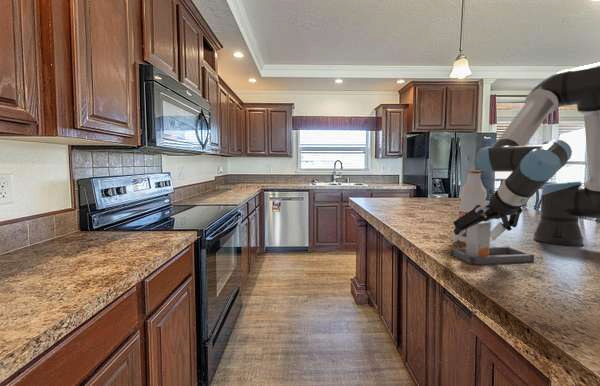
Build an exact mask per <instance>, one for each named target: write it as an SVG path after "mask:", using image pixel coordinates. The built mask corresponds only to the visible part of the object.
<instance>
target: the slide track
mask: <svg viewBox="0 0 600 386" xmlns="http://www.w3.org/2000/svg"><path fill="white" fill-rule="evenodd" d="M499 254H500V255H499ZM450 255H451V256H453V257H454V258H457V259H459V260H461V261H464V262H466V263H468V264H470V265H472V266H473V265H486V264H487V265H489V264H490V265H491V264H511V263H528V262H530V261H531V262H535V254H532V253H529V252H526V251H523V250H520V249H517V248H514V247H511V246H508V245H506V246H505V245H504V246H503V245H502V246H500V245H493V246H489V256H476V257H472V256H469V255H467V254H466V246H465V247H464V246H463V247H461V248H460V247H459V248H450ZM531 262H530V263H531Z"/></svg>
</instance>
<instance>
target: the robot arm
mask: <svg viewBox="0 0 600 386" xmlns="http://www.w3.org/2000/svg"><path fill="white" fill-rule="evenodd" d="M574 105H576V109H577V112H579V113H581V114H582V115H583V118H584V119H583V120H584V131H585V143H586V153H587V155H586V156H587V157H586V158H587V166H588V178H589V179H587V180H586V181H585V182H584V184H583V183H582V182H581V181H568V182H565V181H564V182H555V183H553V182H552V183H547V182H548V181H550V180H551V178H553V177H554V176H555V175H556V174H557V172H559V171H560V170H561V169H562V168H563V167H565V166H566V165H567V163H568V161H569V160H570V159H571V157H572V154H573V153H572V152H573V151H572V147H571V146H570V145H569V143H567V142H566V141H564V140H561V139H556V138H555V139H550V140H547V141H545V142H543V143H541V144H529V142H530V141H531V139H532V138H533V136H534V135H535V133H536V132H537V131H538V129H539V128H540V126H541V125H542V124H543V122H544V120H545V119H546V118H547V116H548V115H549V114H552V113H553V112H555V111H556V110H557V108H560V107H565V106H574ZM528 144H529V145H528ZM476 163H477V167H478V168H479V170H481V171H483V172H484V171H485V172H493V173H494V172H503V173H504V172H507V173H508V172H510V174H509V175H508V176H507V177H506V179H504V180H503V182H502V183H501V184H500V185H499V187H498V188H497V189H496V190H495V191H494V193H492V195H491V196H490V197H489V202H488V204H486V206H485V207H481V206H480V205H477V206H476V207H475V208H474V209H473V210H471V211H470V212H468V213H466V214H465V215H463V216H462V217H460V218H459V217H458V218H457V219H456V220H454V221H452V223H453V226H454V229H453V232H452V233H451V234H450V236H451V238H452V240H453V242H454V243H457V242H458V241H459V238H460V237H461V236H462V235H463V234H464V232H465V231H466V230H465V229H467V228H469V227H471V226H473V225H476V224H478V223H480V222H482V221H484V222H486V221H488V222H489V221H491V220H499V219H501V222H498V223H497V224H496V225H495V226H494V227H493V228H492V229H490V239H491V241H495V240H496V239H497V238H499V237H500V236H501V235H502V233H504V232H505V231H509V232H510V231H511V230H512V228H516V227H517V226H518V222H519V220H520V216H521V214H522V213H523V212H524V210H523V208H522V207H523V206H524V205H525V204H526V203H527V202H528V201H529V200H530V199H531V198H532V197H533V195H535V194H536V193H537V192H538V191H539V190H540V189H542V190H541V195H540V197H541V200H540V201H541V202H540V218H539V222H538V225H537V227H536V230H535V231H534V232H533V239H534V240H535V241H538V242H541V243H544V244H551V245H558V246H570V247H571V246H573V247H575V246H582V245H584V237H583V236H582V235H583V234H582V230H581V228H580V224H579V219H580V218H587V219H597V220H600V62H597V63H593V64H588V65H584V66H578V67H575V68H571V69H564V70H561V71H558V72H556V73H554V74H552V75H550V76H549V77H547V78H545V79H544V80H543V81H541V82H540V83H538V84H537V85H536V86H535V87H533V88H532V90H530V92H529V93H528V94H527V96H526V97H525V100H524V104H523V106H522V107H521V109H520V111H518V113H516V115H515V117H514V118H513V119H512V121H511V122H510V123H509V125H508V126H507V127H506V128H505V130H504V132H502V134H501V135H500V137H499V138H497V140H496V141H495V143H493V145H492V146H485V147H482V148H480V149H479V150H478V152H477V155H476ZM582 184H583V185H582ZM484 212H485V215H486V218H485V217H484V215H483V213H484ZM508 216H509V218H508Z"/></svg>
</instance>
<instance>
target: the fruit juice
mask: <svg viewBox="0 0 600 386" xmlns="http://www.w3.org/2000/svg"><path fill="white" fill-rule="evenodd" d="M466 174H467V179H466V180H465V183H464V185H463V186H462V188H461V190H460V192H459V195H460V198H461V201H460V202H459V205H458V206H459V208H458V219H459V218H460V217H462V216H463V215H465V214H466V213H468V212H470V211H471V210H473V209H474V208H475V207H476V206H477V205H480V206H481V207H485V206H487V204H486V199H487V196H488V195H487V194H488V192H487V189H486V188H485V186H484V185H483V182H482V179H481V175H482V170H481V169H479V170H478V169H477V170H475V169H474V170H473V169H472V170H470V169H469V170H467V171H466ZM483 215H484V217H485V218H486V215H485V212H484V213H483ZM465 230H466V231H465V232H464V234H463V235H462V236H461V237H460V238H459V239H458V241H459V242H460V243H463V244H464V243H465V244H466V239H467V229H465Z"/></svg>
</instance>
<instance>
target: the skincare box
mask: <svg viewBox="0 0 600 386" xmlns="http://www.w3.org/2000/svg"><path fill="white" fill-rule="evenodd" d="M491 227H492V222H491V221H489V220H488V221H486V222H484V221H482V222H480V223H478V224H476V225H473V226H471V227H469V228H467V239H466V243H465V247H466V254H467V255H469V256H472V257H476V256H490V254H489V247H490V239H491V237H490V232H491Z"/></svg>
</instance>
